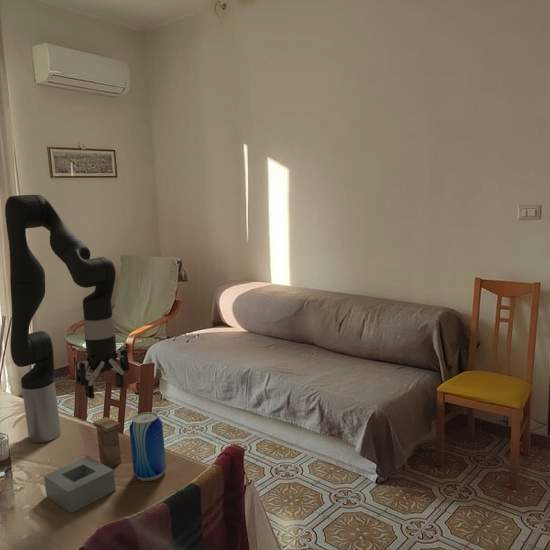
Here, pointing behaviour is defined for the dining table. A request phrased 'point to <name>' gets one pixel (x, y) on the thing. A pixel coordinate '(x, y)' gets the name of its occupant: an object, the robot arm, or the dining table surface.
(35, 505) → the dining table surface
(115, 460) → the tall wooden block
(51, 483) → the well block
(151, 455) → the beer can
